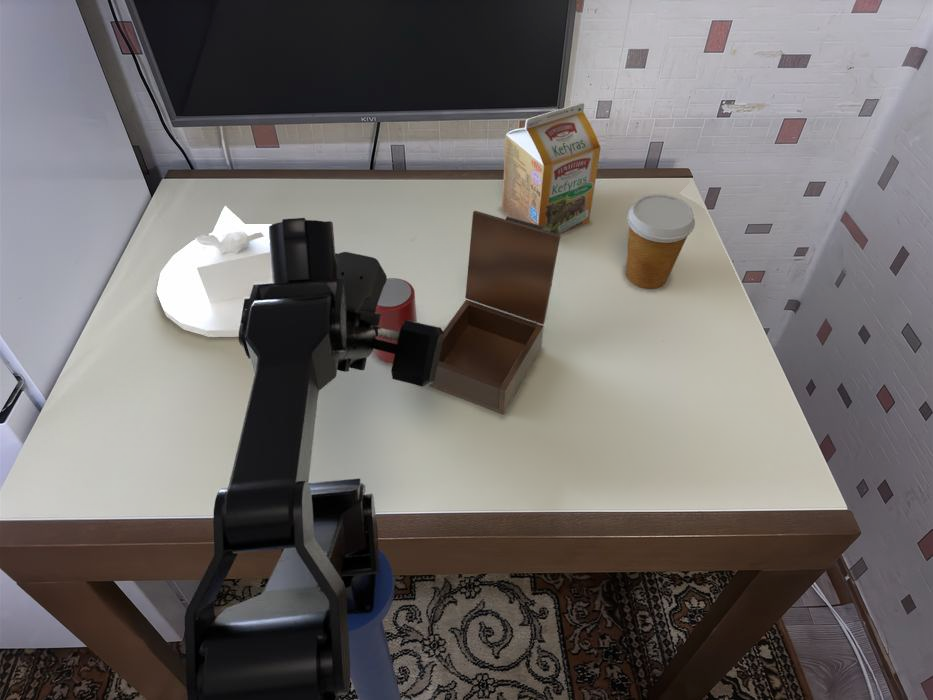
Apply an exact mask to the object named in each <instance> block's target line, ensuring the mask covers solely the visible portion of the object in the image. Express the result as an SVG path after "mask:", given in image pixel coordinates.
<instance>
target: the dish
mask: <svg viewBox="0 0 933 700" xmlns="http://www.w3.org/2000/svg"><path fill="white" fill-rule="evenodd" d="M269 225H272V223H269V224H268V223H267V224H264V223H263V224H262V223H261V224H260V223H257V224H255V223H254V224H253V223H250V224H249V223H248V224H245V222H243V221H242V220H241V218H239V217H238V216H237V215H236V214H235V213H233V212H232V211H231V210H230V209H229V208H228V207H227V206H226V205H224V207H223V209H222V211H221V213H220V215H219V217H218V219H217V222H216V224H215V226H214V228H213V231H212V232H211V233H204V234H200V235H196V236H195V237H194V239H195V240H192V241H191V242H190V243H188V244H187V245H186V246H184V247H183V248H182V249H180V250H179V251H178V252H176V253H175V254H174V255H172V257H171V258H170V259H169V261H168V262H167V264H165V266H164V267H163V269H162V270H161V272H160V274H159V279H158V283H157V288H156V294H157V297H158V299H159V302H160V305H161V307H162V309H163V312H164V314H165V316H166V317H167V318H168V319H169V320H171V321H172V322H173V323H175V324H176V325H177V326H179V327H180V328H181V329H182V330H184V331H188V332H191V333H194V334H198V335H201V336H204V337H209V338H239V328H240V322H241V316H242V311H243V305H244V299H248V298H250V295H251V292H252V288H253V285H254V284H263V283H273V281H272V269H271V256H270V243H269V230H268V226H269Z"/></svg>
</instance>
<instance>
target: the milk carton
mask: <svg viewBox="0 0 933 700" xmlns="http://www.w3.org/2000/svg"><path fill="white" fill-rule="evenodd" d="M584 110H585V104H584V103H583V102H579V103H576V104H572V105H569V106H566V107H563V108H562V107H561V108H559V109H556V110H552V111H549V112H544V113H542V114H539V115H535V116H532V117H529V118H527V119H526V120H525V123H524V126H521V127H519V128H516V129H512V130H509V131H508V132H507V133H505V138H504V139H505V140H504V142H505V143H504V162H503V165H504V166H503V181H502V182H503V183H502V204H501V205H502V206H501V210H502V211H503V212H504V213H505V214H506V215H507V216H509V217H512V218H516V219H519V220H523V221H526V222H530V223H533V224H537V225H540V226H543V227H544V231H547V232H551V233H554V234H558V235H561V234H562V233H565V232H568V231H571V230H573V229H575V228H578V227H581V226H585V225H586V224H589V222H590V216H591V211H592V204H593V198H594V191H595V187H596V180H597V173H598V167H599V161H600V154H601V148H602V147H601V144H600V141H599V138H598V136H597V134H596V132H595V130H594V128H593V126H592V124H591V122H590V120H589V119H588V117H587V115H586V113H585V112H584Z"/></svg>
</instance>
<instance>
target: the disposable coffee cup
mask: <svg viewBox="0 0 933 700" xmlns="http://www.w3.org/2000/svg"><path fill="white" fill-rule="evenodd" d="M626 218H627V222H628V236H627V251H626V252H627V253H626V271H625V276H626V278H627V280H628V281H629V282H630V283H631V284H632V285H634V286H636V287H638V288H641V289H645V290H655V289H659V288H662V287H663V286H665V284H666V283H667V282H668V280H669V277H670V275H671V272H672V271H673V268H674V266H675V265H676V262H677V260H678V257H679V255H680V254H681V251H682V249H683V247H684V244H685V243H686V240H687V238H688V236H689V235H690V234H691V233H693V230H694V229H695V226H696V220H695V219H696V218H695V214H694V210H693V208H692V207H691V206H690V204H689V203H687V202H686V201H684V200H682V199H681V198H679V197H677V196H673V195H669V194H664V193H651V194H650V193H649V194H646V195H642V196H641V197H638V198H637V199H636V200H635V201H634V202H633V203H632V205H631V206H630V208H629V209H628V210H627V213H626Z"/></svg>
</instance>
